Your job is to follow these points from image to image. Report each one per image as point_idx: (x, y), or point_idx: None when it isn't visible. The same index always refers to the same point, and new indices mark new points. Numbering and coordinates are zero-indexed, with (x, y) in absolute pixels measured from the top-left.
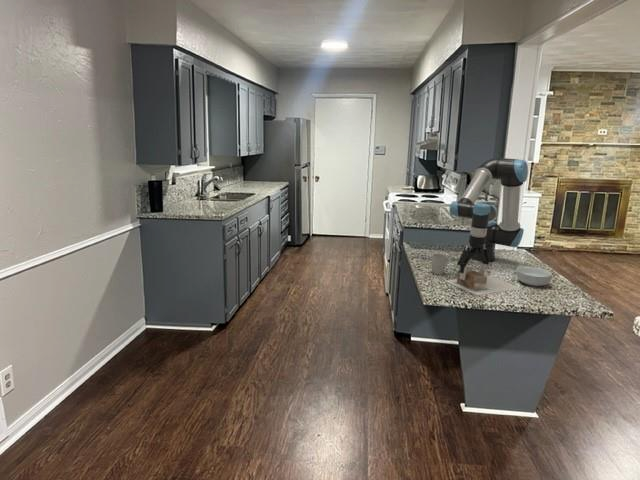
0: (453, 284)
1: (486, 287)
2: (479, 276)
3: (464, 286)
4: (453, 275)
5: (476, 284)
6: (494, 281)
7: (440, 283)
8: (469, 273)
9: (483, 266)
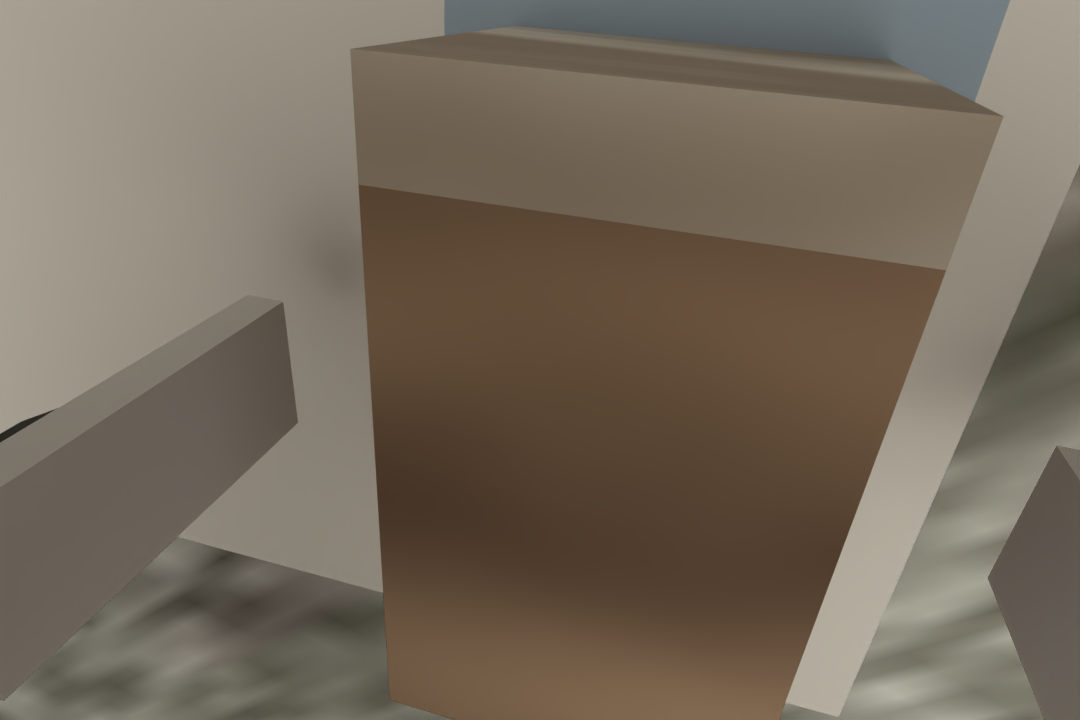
0: (896, 556)
1: None
2: (676, 200)
3: None
4: None
5: (915, 78)
6: (20, 234)
7: (1013, 706)
8: (691, 559)
9: (46, 512)
